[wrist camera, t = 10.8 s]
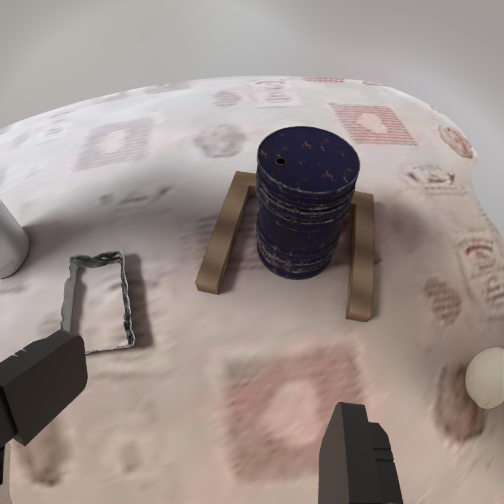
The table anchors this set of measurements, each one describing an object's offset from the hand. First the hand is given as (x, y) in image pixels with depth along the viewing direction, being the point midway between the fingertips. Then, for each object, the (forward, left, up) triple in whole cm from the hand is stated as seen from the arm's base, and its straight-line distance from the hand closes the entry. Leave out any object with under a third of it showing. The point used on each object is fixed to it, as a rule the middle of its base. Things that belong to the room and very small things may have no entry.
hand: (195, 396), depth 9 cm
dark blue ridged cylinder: (-15, +17, -25) cm, 34 cm away
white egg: (+14, +25, -25) cm, 38 cm away
